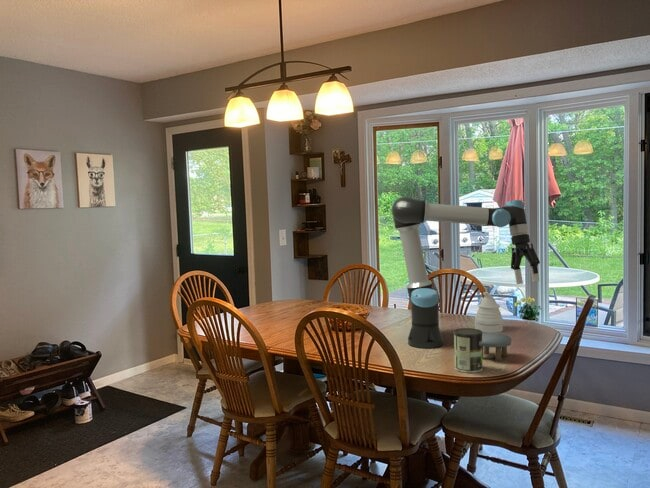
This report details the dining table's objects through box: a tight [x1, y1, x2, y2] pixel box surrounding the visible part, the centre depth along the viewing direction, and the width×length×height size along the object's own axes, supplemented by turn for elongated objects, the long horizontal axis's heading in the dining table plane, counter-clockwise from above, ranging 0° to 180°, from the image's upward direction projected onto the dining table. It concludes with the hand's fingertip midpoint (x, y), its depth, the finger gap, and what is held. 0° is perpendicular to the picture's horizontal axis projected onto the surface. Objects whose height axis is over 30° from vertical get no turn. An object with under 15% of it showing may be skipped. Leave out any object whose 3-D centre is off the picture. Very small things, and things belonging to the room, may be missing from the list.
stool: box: [482, 332, 512, 363], centre depth 209 cm, size 14×14×8 cm
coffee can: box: [453, 327, 483, 374], centre depth 196 cm, size 10×10×14 cm
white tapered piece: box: [474, 291, 504, 333], centre depth 252 cm, size 13×13×18 cm
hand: (527, 282), depth 231 cm, fingers open, 13 cm apart
